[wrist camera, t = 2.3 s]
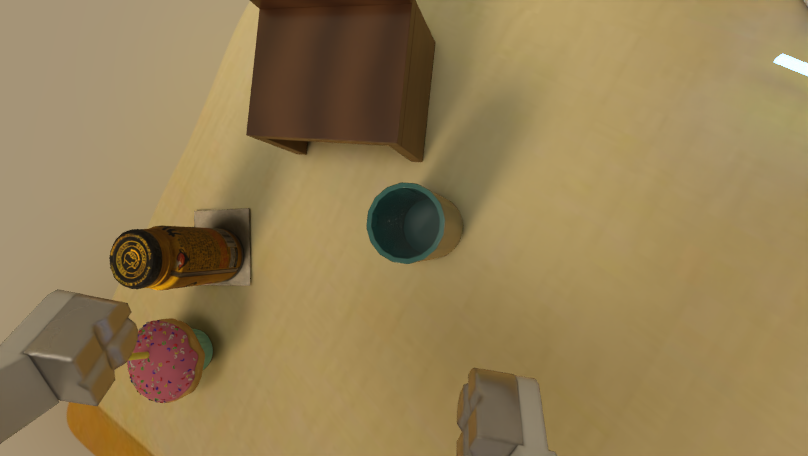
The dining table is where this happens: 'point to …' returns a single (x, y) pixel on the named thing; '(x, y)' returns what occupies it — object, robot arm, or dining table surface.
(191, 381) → the cupcake
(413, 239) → the cup
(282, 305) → the dining table surface
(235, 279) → the condiment
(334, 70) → the shelf
